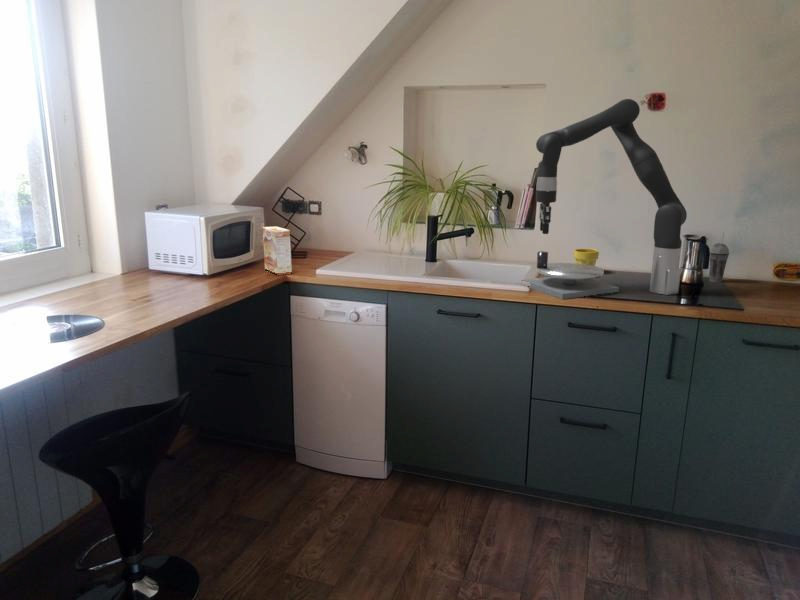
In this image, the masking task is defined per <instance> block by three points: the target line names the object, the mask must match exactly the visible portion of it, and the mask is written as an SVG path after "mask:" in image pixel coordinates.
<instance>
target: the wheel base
mask: <svg viewBox="0 0 800 600" xmlns="http://www.w3.org/2000/svg"><path fill="white" fill-rule="evenodd" d="M520 281H526V282H529V283H530V284H531V288H530V289H532V290H536V291H538V292H541V293H543V294H546V295H549V296H552V297H554V298H557V299H561V300H567V299H575V298H583V297H584V296H585V297H590V296H589V295H594V296H597V295H596V294H602V295H604V294H603V293H611V294H614V293H613V292H618V293H619V290H620V287H618V286H615V285H612V284H608V283H605V282H602V281H599V280H598V281H597V280H594V279H581V280H576V279H560V278H552V277H547V276H544V277H537V278H527V279H521V280H520Z"/></svg>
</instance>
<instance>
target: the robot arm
mask: <svg viewBox="0 0 800 600" xmlns="http://www.w3.org/2000/svg"><path fill="white" fill-rule="evenodd" d="M640 111H641V109H640V105H639V104H638V102H637V101H636V100H634V99H631V98H624V99H622V100H620V101H618V102H616V103H615V104H613V105H612V106H609V107H608V108H606V109H604V110H603V111H601V112H599V113H597V114H595V115H592V116H590V117H587V118H586V119H583V120H580V121H577V122H574V123H572V124H570V125H568V126H565V127H564V128H560V129H557V130H555V131H550V132H548V133H545V134H543V135H541V136H539V138H538V139H537V140H536V142H535V143H536V144H535V146H536V150H537V151H538V152H539V153H541V154H542V158H541V159H542V160H541V161H540V162H538V166H537V179H536V186H535V187H536V189H535V202H536V203H540V204H539V217H538V218H539V221H540V222H539V225H540V226H539V231H541V232H542V234H544V235H548V234H549V232H550V231H549V230H550V229H549V228H550V223H551V222H552V220H551V219H552V218H551V217H552V214H551V213H552V206H550V205H551V204H552V203H557V192H558V191H557V190H558V179H557V178H558V164H559V161H560V157H561V153H562V148H563V147H564V148H565V147H570V146H573V145H576V144H578V143H580V142H584V141H585V140H587V139H589V138H591V137H593V136H594V135H597V134H598V133H600V132H602V131H603V130H605V129H608V128H609V127H610V128H611V130H612V131H613V132H614V134H615V136H616V138H617V139H618V141H619V142H620V145H621V146H622V147H623V149H624V152H625V154H626V156H627V158H628V160H629V162H630V164H631V167H632V168H633V170H634V172H635V175H636V176H637V178H638V180H639V181H640V182H641V185H643V186H644V187H645V189H646V190H647V191H648V192H649V193H650V195H651V196H652V197H653V199H654V201H655V203H656V206H657V208H658V209H657V210H656V212H655V216H654V223H653V227H654V228H653V241H654V244H653V245H654V246H653V253H652V263H651V266H652V267H651V274H650V282H649V283H650V284H649V286H650V287H649V292H650V293H653V294H660V295H666V296H668V295H677V294H679V291H680V289H679V288H680V282H681V281H680V280H681V272H682V268H680V260H681V253H682V252H681V251H682V244H683V243H682V239H681V229H682V228H681V227H682V226H683V224H684V223H685V222H686V220H687V216H688V214H687V213H688V212H687V210H686V208H685V206H684V204H683V203H682V201H681V200H680V199H679V197H678V195H677V193H676V192H675V190H674V188H673V187H672V185H671V183H670V180H669V177H668V175H667V173H666V170H665V168H664V166H663V164H662V162H661V160H660V158H659V156H658V154H657V152H656V151H655V149H654V148H652V147H651V146H650V145H649V144H648V143H647V142H646V141H644V140H643V139H642V138H641V137H640V135H639V134H638V133H637V130H636V128H635V126H634V122H635V121H636V120H637V118H638V117H639V115H640Z"/></svg>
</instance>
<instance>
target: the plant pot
mask: <svg viewBox="0 0 800 600" xmlns="http://www.w3.org/2000/svg"><path fill="white" fill-rule="evenodd" d="M599 252H600V251H599V250H597V249H595V248H576V249H574V250H573V258H574V261H575V263H576V264H585V265H591V266H596V263H597V260H598V259H599V255H600V253H599Z"/></svg>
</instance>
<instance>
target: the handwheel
mask: <svg viewBox="0 0 800 600" xmlns="http://www.w3.org/2000/svg"><path fill="white" fill-rule="evenodd" d="M548 257H549V252H548V251H543V250H542V251H537V257H536V273H537V274H539V275H541V276H544V277H552V278H560V279H576V280H581V279H591V280H594V279H598V278H603V276H604V273H605V271H604V269H603V268H602V267H599V266H596V265H595V266H591V265H585V264H576V262H575V263H574V262H554V263H553V262H549V263H548V260H549V258H548Z"/></svg>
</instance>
